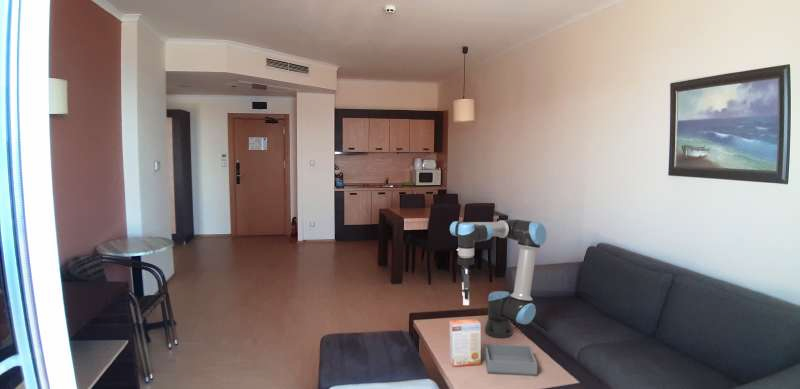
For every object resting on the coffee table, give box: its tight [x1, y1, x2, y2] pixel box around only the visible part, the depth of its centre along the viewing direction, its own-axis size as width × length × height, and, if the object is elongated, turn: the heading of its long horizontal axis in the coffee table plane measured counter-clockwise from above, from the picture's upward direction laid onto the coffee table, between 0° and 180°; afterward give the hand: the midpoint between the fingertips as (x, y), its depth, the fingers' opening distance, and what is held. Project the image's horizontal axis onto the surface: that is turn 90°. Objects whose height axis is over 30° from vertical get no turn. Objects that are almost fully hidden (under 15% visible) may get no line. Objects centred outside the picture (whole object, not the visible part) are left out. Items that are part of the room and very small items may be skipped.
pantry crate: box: [484, 343, 538, 377], centre depth 210 cm, size 18×22×6 cm
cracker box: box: [449, 318, 482, 368], centre depth 211 cm, size 14×6×21 cm, turn 98°
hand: (465, 300), depth 209 cm, fingers open, 13 cm apart
